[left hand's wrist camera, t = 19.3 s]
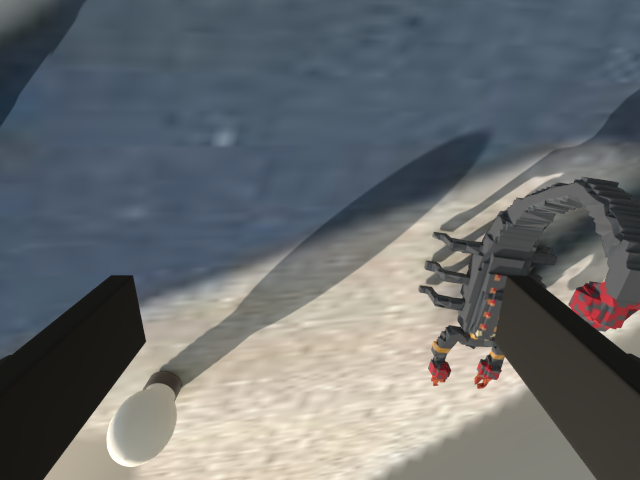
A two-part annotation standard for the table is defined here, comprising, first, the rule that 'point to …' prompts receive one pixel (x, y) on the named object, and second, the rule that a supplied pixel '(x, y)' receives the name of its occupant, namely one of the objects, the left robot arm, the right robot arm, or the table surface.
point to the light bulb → (144, 421)
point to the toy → (519, 252)
